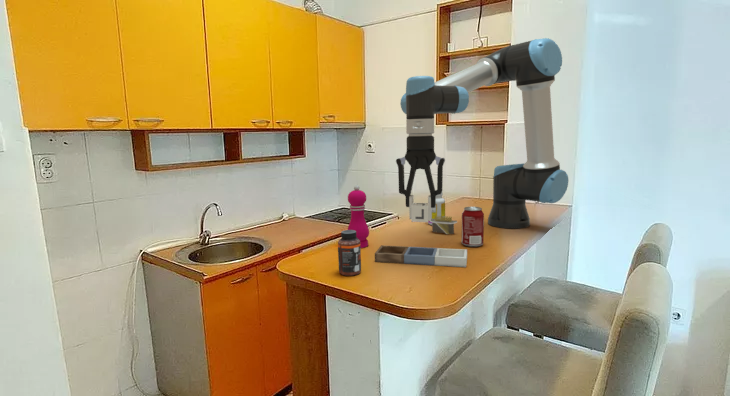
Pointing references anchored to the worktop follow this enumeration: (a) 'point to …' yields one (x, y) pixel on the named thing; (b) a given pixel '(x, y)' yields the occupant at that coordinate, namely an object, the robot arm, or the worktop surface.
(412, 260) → the blue square tray
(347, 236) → the supplement bottle
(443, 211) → the supplement bottle
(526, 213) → the robot arm
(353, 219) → the pepper mill
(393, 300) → the worktop surface
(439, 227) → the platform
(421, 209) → the letter cube
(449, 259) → the bin white
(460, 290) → the worktop surface
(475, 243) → the soda can
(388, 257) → the bin walnut
